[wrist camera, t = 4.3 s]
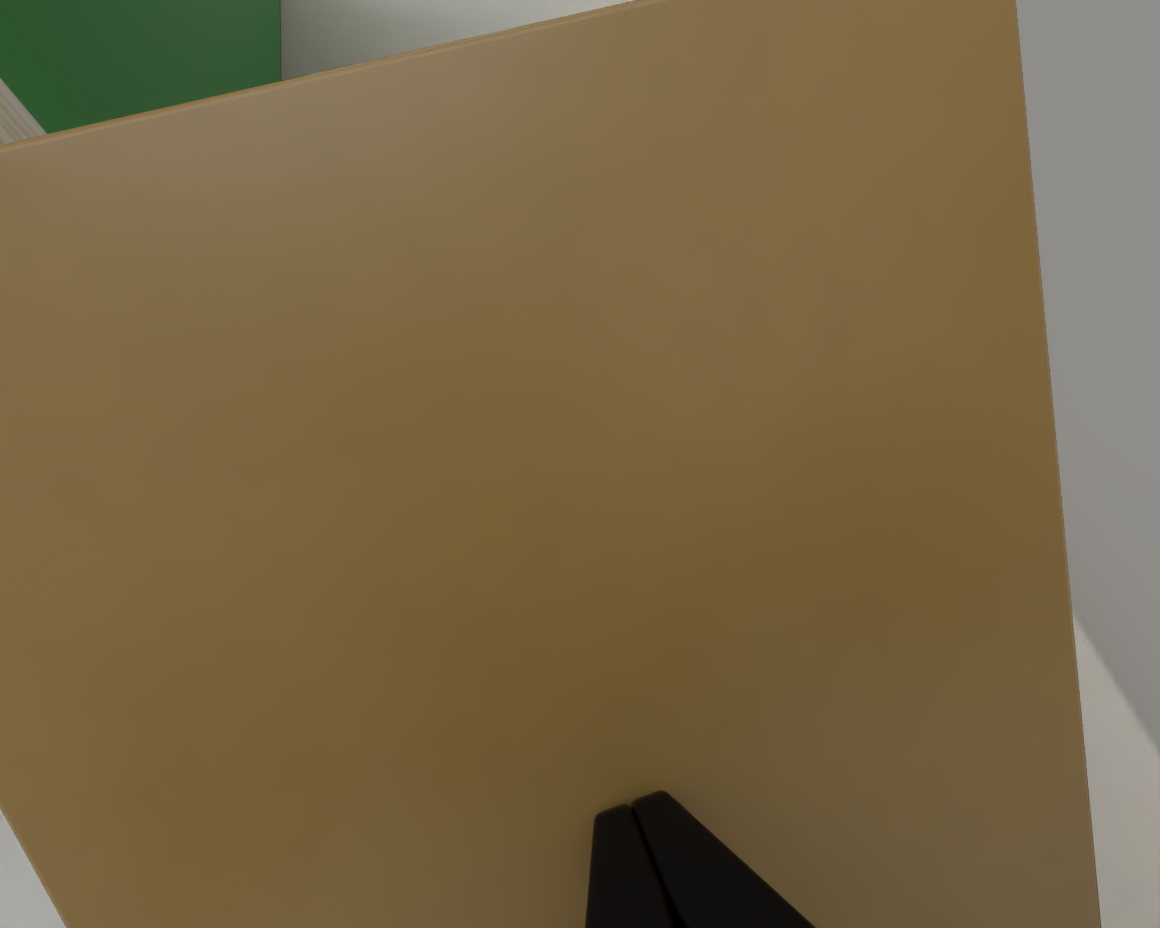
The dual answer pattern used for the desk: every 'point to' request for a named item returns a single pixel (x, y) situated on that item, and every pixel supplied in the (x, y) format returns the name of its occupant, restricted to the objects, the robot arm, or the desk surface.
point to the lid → (544, 480)
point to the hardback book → (127, 58)
